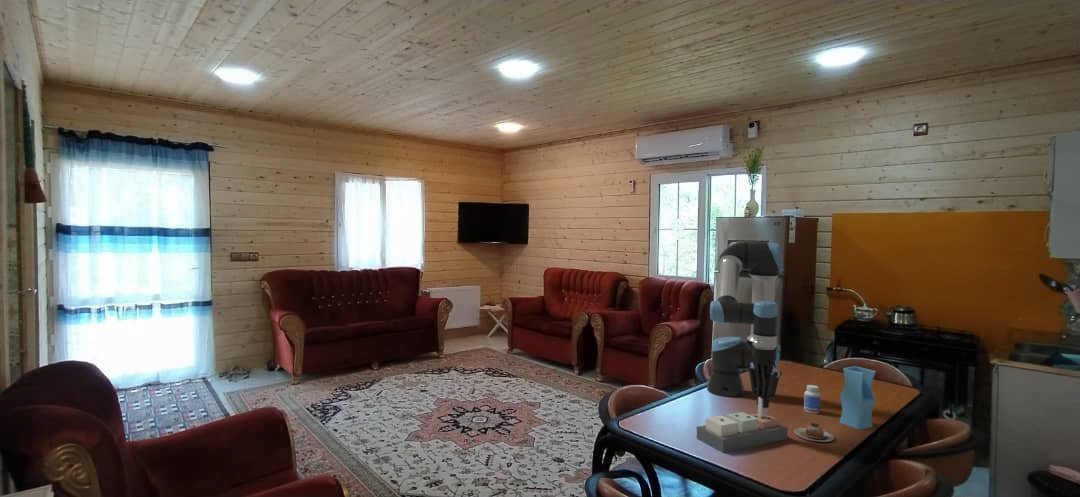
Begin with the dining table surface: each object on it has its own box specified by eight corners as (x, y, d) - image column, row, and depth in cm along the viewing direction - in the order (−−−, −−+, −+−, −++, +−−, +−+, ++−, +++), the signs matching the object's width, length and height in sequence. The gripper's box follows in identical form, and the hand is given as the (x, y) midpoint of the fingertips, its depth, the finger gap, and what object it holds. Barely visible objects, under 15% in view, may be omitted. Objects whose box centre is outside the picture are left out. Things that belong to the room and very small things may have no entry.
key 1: (705, 430, 174) (705, 417, 174) (721, 427, 177) (722, 414, 177) (721, 437, 167) (721, 424, 167) (737, 434, 170) (738, 421, 170)
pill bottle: (821, 414, 201) (822, 389, 200) (806, 413, 202) (807, 387, 202) (817, 409, 206) (818, 384, 206) (802, 408, 207) (803, 383, 207)
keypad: (696, 438, 176) (696, 426, 175) (758, 426, 187) (759, 415, 187) (722, 452, 165) (723, 440, 165) (787, 439, 176) (787, 427, 176)
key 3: (746, 426, 181) (746, 414, 181) (761, 424, 184) (761, 412, 184) (762, 434, 175) (763, 421, 175) (777, 431, 178) (778, 418, 178)
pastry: (832, 447, 171) (833, 433, 171) (792, 439, 177) (792, 425, 177) (834, 435, 181) (835, 422, 181) (796, 428, 187) (796, 415, 187)
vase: (860, 430, 185) (863, 373, 185) (839, 422, 192) (841, 368, 192) (874, 426, 189) (876, 371, 188) (852, 419, 196) (854, 365, 195)
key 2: (726, 426, 178) (726, 414, 177) (742, 423, 180) (742, 411, 180) (742, 433, 171) (742, 421, 171) (758, 430, 174) (758, 418, 174)
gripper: (741, 344, 183) (739, 411, 184) (772, 352, 171) (769, 424, 172) (757, 342, 186) (755, 408, 187) (788, 350, 174) (786, 421, 175)
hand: (762, 416), depth 179 cm, fingers closed
